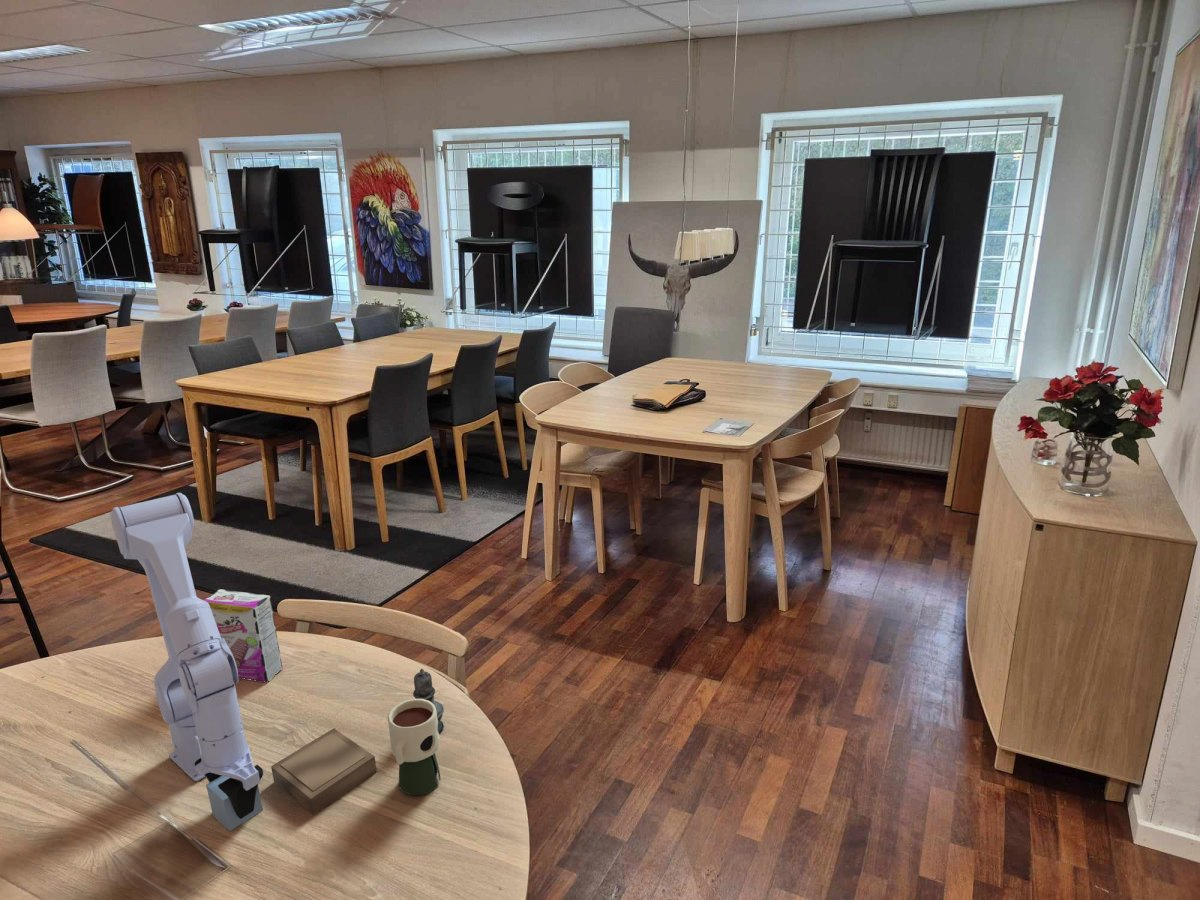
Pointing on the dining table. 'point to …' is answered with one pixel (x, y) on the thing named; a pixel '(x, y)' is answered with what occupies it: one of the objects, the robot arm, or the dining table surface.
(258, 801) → the blue block
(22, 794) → the dining table surface
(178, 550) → the robot arm
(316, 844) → the dining table surface
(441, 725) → the salt shaker
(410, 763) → the character mug
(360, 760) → the walnut plinth
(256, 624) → the candy bar box
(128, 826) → the dining table surface
